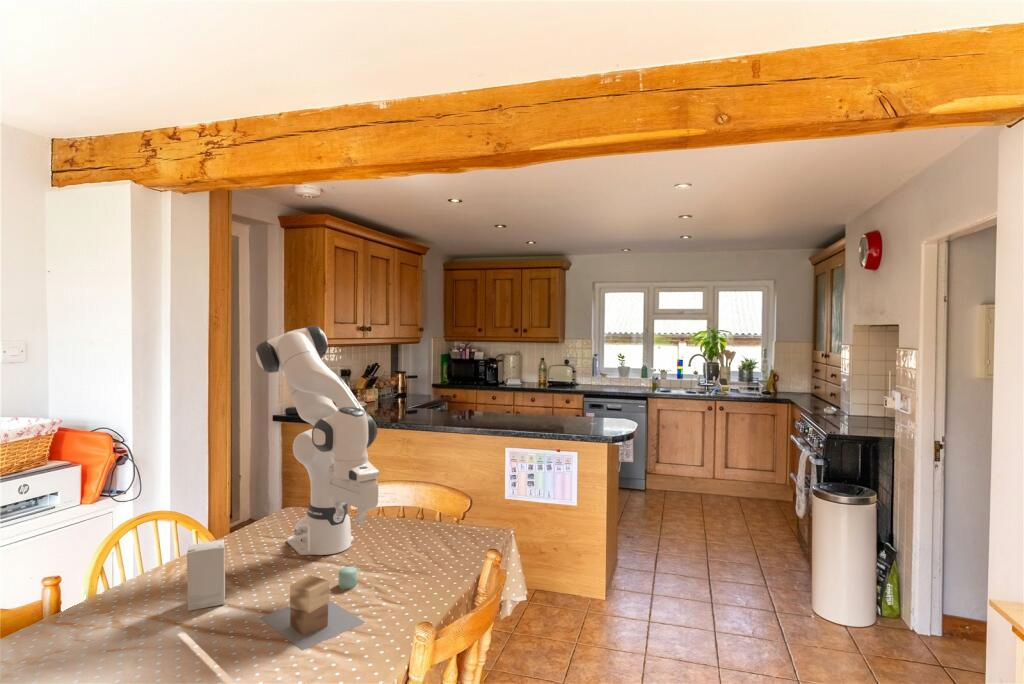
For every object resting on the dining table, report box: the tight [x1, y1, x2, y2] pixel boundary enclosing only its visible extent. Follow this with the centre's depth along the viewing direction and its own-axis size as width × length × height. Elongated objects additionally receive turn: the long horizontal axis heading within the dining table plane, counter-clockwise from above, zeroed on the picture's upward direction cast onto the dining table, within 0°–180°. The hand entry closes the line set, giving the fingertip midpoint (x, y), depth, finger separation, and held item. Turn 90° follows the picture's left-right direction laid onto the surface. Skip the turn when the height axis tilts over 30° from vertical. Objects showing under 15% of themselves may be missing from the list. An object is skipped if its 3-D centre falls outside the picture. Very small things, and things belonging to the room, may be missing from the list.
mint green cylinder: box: [338, 566, 358, 590], centre depth 149 cm, size 5×5×5 cm
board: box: [258, 599, 367, 651], centre depth 130 cm, size 20×16×1 cm
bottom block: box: [290, 603, 328, 636], centre depth 127 cm, size 6×6×5 cm
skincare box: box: [186, 539, 226, 612], centre depth 138 cm, size 8×6×15 cm
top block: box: [289, 574, 330, 613], centre depth 127 cm, size 6×6×5 cm
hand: (349, 519), depth 149 cm, fingers open, 8 cm apart
